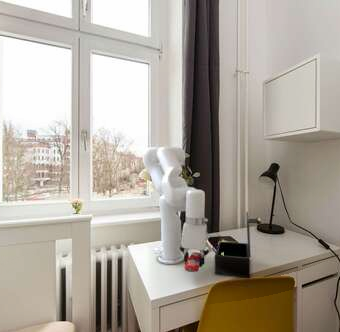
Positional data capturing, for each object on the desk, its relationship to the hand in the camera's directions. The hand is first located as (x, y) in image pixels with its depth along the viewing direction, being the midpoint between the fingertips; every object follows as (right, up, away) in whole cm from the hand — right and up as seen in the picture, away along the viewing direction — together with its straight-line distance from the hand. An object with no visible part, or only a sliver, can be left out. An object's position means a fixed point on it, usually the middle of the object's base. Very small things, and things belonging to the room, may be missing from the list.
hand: (194, 264), depth 88 cm
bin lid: (+23, +11, +6) cm, 26 cm away
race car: (0, -1, 0) cm, 1 cm away
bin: (+17, -4, +7) cm, 19 cm away
